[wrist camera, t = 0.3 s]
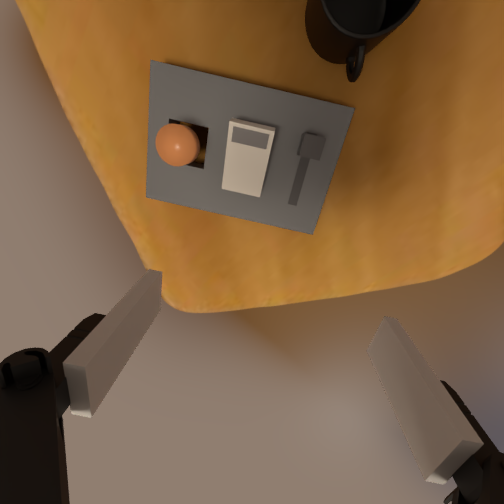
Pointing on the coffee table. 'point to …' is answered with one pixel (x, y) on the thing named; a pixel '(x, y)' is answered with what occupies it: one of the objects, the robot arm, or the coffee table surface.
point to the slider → (311, 146)
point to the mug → (352, 28)
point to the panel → (217, 120)
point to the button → (177, 144)
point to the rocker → (246, 156)
